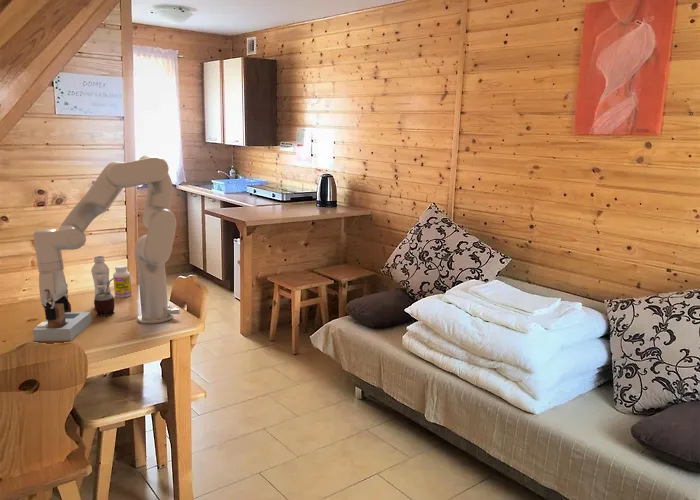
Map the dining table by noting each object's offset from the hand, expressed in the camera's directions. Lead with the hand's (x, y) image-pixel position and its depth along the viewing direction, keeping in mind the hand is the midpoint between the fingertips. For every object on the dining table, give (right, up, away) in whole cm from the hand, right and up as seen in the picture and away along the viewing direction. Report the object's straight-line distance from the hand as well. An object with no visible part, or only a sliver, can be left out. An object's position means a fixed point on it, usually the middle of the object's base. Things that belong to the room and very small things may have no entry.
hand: (58, 314), depth 193 cm
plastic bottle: (+1, -1, +34) cm, 34 cm away
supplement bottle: (+3, +2, +48) cm, 48 cm away
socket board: (-1, -6, +6) cm, 9 cm away
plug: (-1, -6, +1) cm, 7 cm away
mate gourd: (+6, -3, +24) cm, 25 cm away
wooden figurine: (-7, -4, +17) cm, 19 cm away
